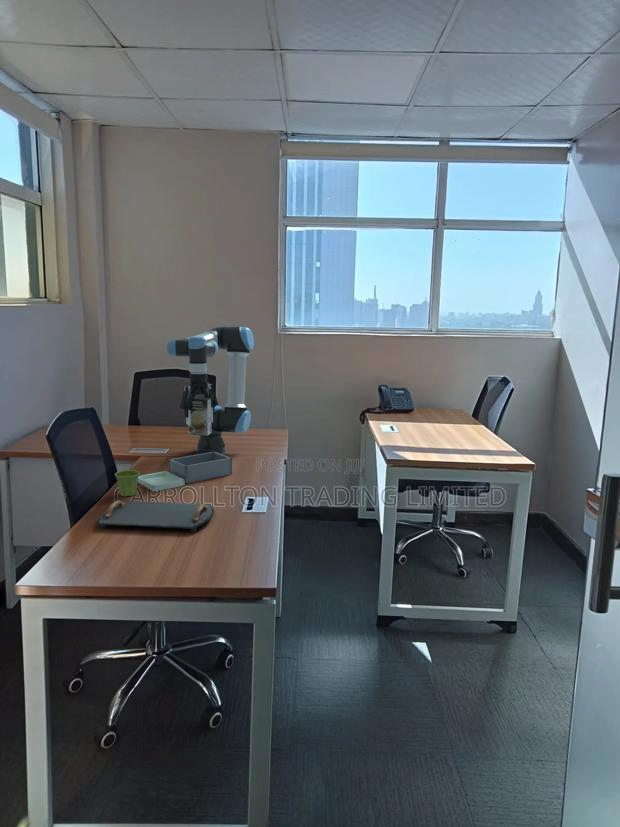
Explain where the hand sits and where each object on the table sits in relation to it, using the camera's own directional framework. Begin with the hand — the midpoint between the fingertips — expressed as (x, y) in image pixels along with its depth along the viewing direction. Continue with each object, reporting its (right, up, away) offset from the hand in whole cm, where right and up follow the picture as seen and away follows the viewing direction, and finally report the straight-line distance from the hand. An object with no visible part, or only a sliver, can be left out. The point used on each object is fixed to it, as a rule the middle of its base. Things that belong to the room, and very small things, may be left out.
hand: (199, 423), depth 250 cm
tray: (-15, -26, -9) cm, 31 cm away
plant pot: (-24, -28, -23) cm, 44 cm away
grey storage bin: (0, -23, +4) cm, 24 cm away
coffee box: (0, -5, +1) cm, 5 cm away
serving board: (-5, -34, -50) cm, 61 cm away
